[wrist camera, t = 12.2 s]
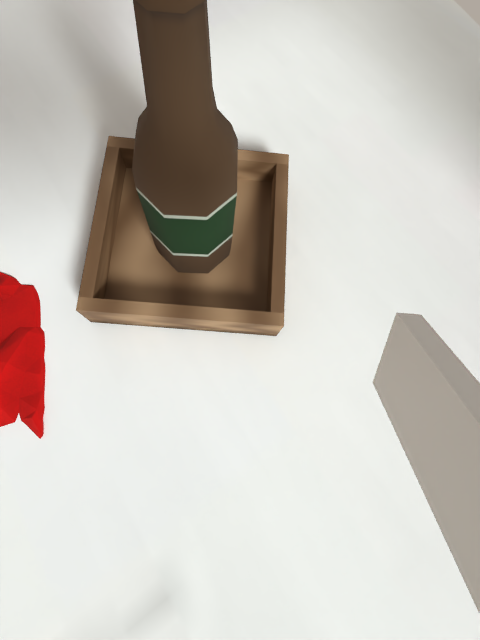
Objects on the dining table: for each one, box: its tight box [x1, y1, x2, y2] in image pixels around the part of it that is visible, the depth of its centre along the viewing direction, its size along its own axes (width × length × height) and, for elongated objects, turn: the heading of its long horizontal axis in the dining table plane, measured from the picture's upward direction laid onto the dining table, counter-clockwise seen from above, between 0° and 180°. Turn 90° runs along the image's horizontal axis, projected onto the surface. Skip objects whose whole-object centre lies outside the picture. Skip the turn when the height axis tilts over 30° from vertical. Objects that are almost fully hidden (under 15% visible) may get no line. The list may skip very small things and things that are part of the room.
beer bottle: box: [132, 0, 238, 274], centre depth 25 cm, size 8×8×24 cm
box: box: [76, 136, 289, 336], centre depth 36 cm, size 18×18×4 cm
